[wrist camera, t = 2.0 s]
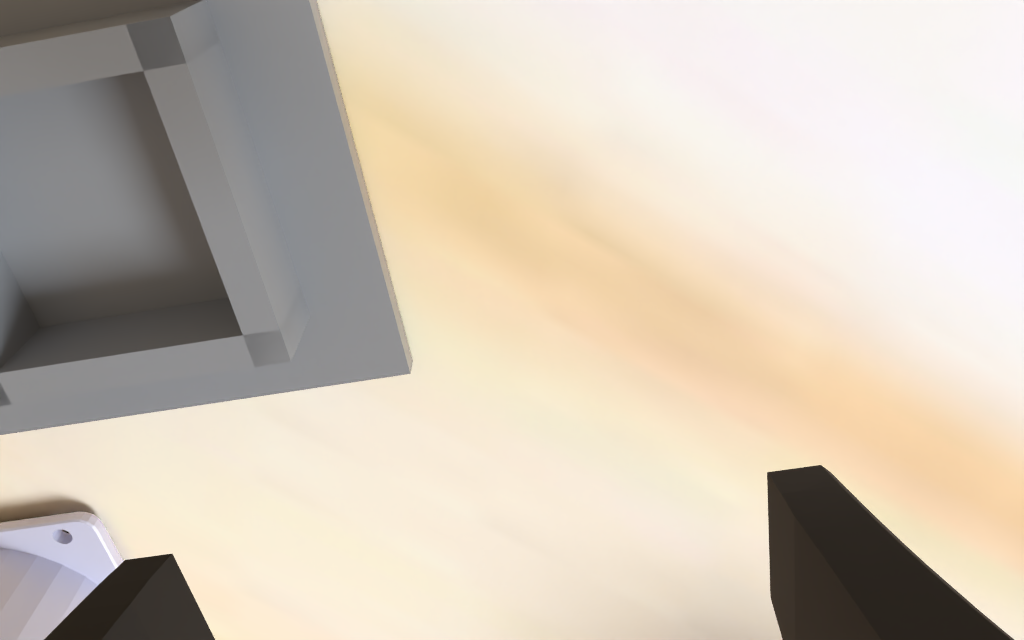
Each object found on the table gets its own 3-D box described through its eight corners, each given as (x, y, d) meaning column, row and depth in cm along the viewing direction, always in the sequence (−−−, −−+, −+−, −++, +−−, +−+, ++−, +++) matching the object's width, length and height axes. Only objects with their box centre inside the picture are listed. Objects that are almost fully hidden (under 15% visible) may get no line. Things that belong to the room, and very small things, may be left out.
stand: (-3, 423, 22) (-62, 489, 19) (-262, -28, 16) (-385, -9, 14) (412, 360, 21) (401, 422, 19) (280, -134, 16) (242, -133, 13)
